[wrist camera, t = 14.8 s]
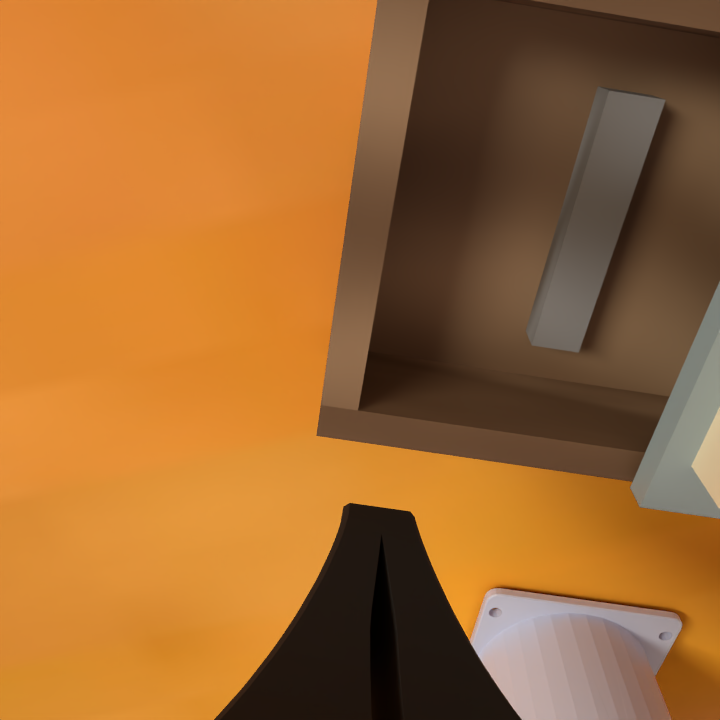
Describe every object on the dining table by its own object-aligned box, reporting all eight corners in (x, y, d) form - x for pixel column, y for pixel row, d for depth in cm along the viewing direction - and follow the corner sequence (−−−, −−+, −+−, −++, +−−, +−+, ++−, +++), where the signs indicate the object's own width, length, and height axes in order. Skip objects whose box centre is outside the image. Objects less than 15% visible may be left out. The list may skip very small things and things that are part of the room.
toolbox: (765, 423, 22) (845, 512, 19) (330, 358, 22) (316, 435, 18) (969, 35, 17) (1148, 44, 13) (390, -63, 16) (389, -87, 12)
